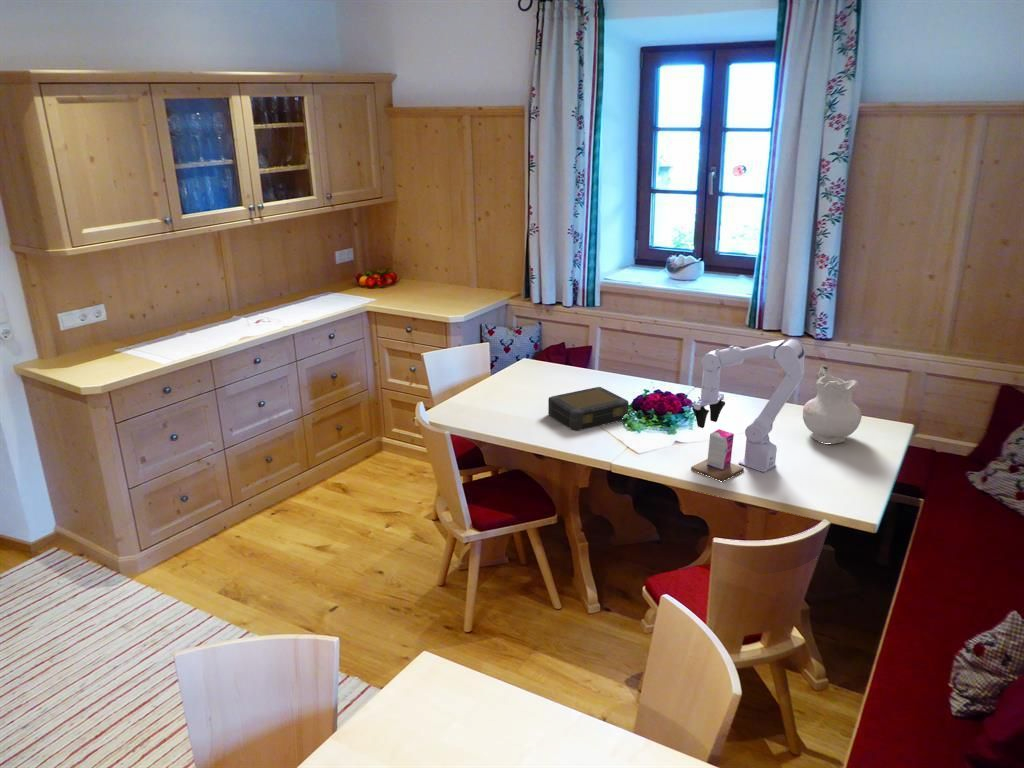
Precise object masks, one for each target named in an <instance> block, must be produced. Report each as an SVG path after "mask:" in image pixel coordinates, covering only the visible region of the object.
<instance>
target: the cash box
mask: <svg viewBox="0 0 1024 768" xmlns="http://www.w3.org/2000/svg"><path fill="white" fill-rule="evenodd" d="M547 401H548V406H547V407H548V408H547V409H548V411H547V412H548V416H550V418H552V419H554V420H555V421H557V422H559V423H560V424H562V425H563V426H565V427H567V428H568V429H570V430H572V431H575V432H576V431H583V430H587V429H592V428H595V427H600V426H604V425H603V424H605V425H608V423H609V424H613V423H616V421H618V422H621V421H620V420H622V418H623V416H624V415H625V414H627V413H628V414H629V400H627V399H626V398H624V397H622V396H619V395H618V394H615V393H614V392H612V391H610V390H608V389H605V388H604V387H601V386H596V387H591V388H587V389H586V388H585V389H581V390H576V391H572V392H566V393H561V394H557V395H552V396H550V397H548V400H547ZM622 421H623V420H622ZM612 422H613V423H612Z"/></svg>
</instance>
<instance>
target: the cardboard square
mask: <svg viewBox="0 0 1024 768" xmlns="http://www.w3.org/2000/svg"><path fill="white" fill-rule="evenodd" d="M707 459H708V458H707ZM707 459H704V460H702V461H700V462H698V463H696V464H694V465H692V466H690V470H691V471H692V470H693V472H695V471H696V472H695V473H697V472H699V473H698V474H700V473H702V474H704V475H703V476H705V475H707V476H710V477H712V478H714V479H713V480H715V479H717V480H720V481H722V482H721V483H724V482H725V481H724V480H726V481H728V480H729V479H728V478H730V479H732V478H733V477H732V476H734V477H735V476H737V475H739V474H741V473H744V470H745V468H744V467H742V466H741V465H738V464H735V463H733V462H731V463H730V466H728V467H726V468H725V469H723V470H718V469H715V468H712V467H709V466H707ZM740 472H741V473H740ZM738 473H739V474H738ZM702 474H701V475H702ZM736 474H737V475H736ZM707 476H706V477H707ZM710 477H709V478H710ZM731 477H732V478H731ZM712 478H711V479H712ZM727 479H728V480H727ZM717 480H716V481H717ZM720 481H719V482H720ZM723 481H724V482H723Z"/></svg>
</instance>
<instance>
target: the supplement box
mask: <svg viewBox="0 0 1024 768" xmlns="http://www.w3.org/2000/svg"><path fill="white" fill-rule="evenodd" d="M734 436H735V434H734V433H732V432H729V431H726V430H723V429H719V428H718V429H716V430H715V431H713V432H712V433H710V434H709V441H708V451H707V453H708V454H707V466H709V467H712V468H715V469H718V470H723V469H725V468H726V467H728V466H730V463H732V462H731V461H732V454H733V453H732V452H733V446H734V445H733V444H734Z"/></svg>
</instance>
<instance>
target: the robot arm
mask: <svg viewBox="0 0 1024 768" xmlns="http://www.w3.org/2000/svg"><path fill="white" fill-rule="evenodd" d="M766 356H767V357H768V358H769V359H771V360H776V362H777V363H778V364H779V365H780V367H781V368H782V369H783V371H784V374H785V376H784V377H783V378H782V380H781V382H780V383H779V384H778V386H777V388H776V389H775V391H774V393H773V394H772V395H771V396H770V398H769V400H768V401H767V403H766V404H765V406H764V407H763V409H762V411H761V412H760V413H759V414H758V416H757V417H756V418H755V419H754V420H753V421H752V422H751V423H750V424H749V425H748V426H746V428H745V430H744V434H745V438H746V440H745V447H744V449H745V450H744V459H741V460H739V461H738V464H739V465H740V466H741V465H742V466H745V467H747V468H749V469H754V470H756V471H759V472H761V473H766V472H767V471H768V470H771V469H772V468H774V467H775V466H777V464H776V461H777V460H776V458H777V451H778V449H777V445H776V444H775V443H772V442H771V441H770V436H769V434H770V433H771V432H772V430H773V424H774V422H775V420H776V419H777V416H778V414H779V413H780V412H781V410H782V409H783V407H784V406H785V404H786V403H787V401H788V400H789V398H790V397H791V396H792V394H793V392H794V391H795V389H796V388H797V386H798V385H799V384H800V382H801V381H802V379H803V378H804V376H805V357H806V350H805V348H804V345H803V343H802V342H801V341H800V340H798V339H796V338H788V339H779V340H775V341H774V340H773V341H770V342H767V343H766V342H765V343H762V344H758V345H754V346H750V347H747V348H742V347H740V346H738V345H737V346H735V345H730V346H728V348H724V349H720V348H717V349H716V350H711V351H709V352H707V353H706V354H705V355H704V356H702V358H701V360H700V363H701V366H702V378H701V379H702V380H701V390H700V391H701V392H700V395H698V397H697V398H698V400H697V401H696V402H695V403H693V406H692V407H691V408H692V412H693V413H694V415H695V419H696V425H697V427H698V428H701V429H704V428H705V425H706V420H707V416H708V415H709V420H710V421H712V422H713V423H717V422H718V420H719V416H720V413H721V412H722V409H723V408H724V407H725V405H726V402H725V401H724V400H725V398H724V397H725V394H724V393H721V392H720V384H721V383H720V382H721V370H722V368H726V367H727V368H728V367H732V366H736V365H741V364H743V363H744V360H747V359H753V358H759V357H760V358H761V357H766ZM707 406H709V410H708V409H706V407H707Z"/></svg>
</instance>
